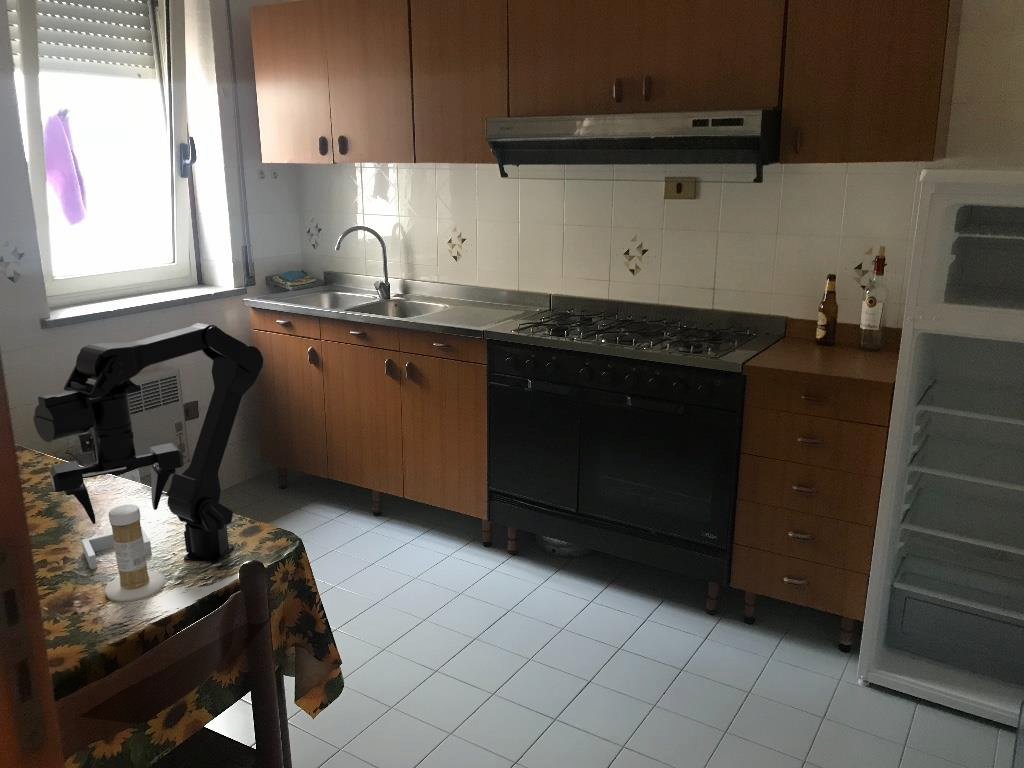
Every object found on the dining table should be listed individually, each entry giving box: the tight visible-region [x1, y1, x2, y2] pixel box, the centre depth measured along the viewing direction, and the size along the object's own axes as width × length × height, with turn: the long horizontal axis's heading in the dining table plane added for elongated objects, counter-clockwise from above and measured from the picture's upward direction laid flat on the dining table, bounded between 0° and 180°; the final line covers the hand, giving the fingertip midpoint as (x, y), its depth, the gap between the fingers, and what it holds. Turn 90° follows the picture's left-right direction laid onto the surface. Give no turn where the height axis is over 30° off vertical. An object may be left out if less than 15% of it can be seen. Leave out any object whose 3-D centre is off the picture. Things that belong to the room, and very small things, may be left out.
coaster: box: [104, 570, 166, 603], centre depth 137 cm, size 9×9×1 cm
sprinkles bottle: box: [108, 503, 149, 589], centre depth 135 cm, size 5×5×13 cm
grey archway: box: [81, 526, 153, 570], centre depth 149 cm, size 8×10×2 cm
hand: (125, 515), depth 134 cm, fingers open, 9 cm apart
